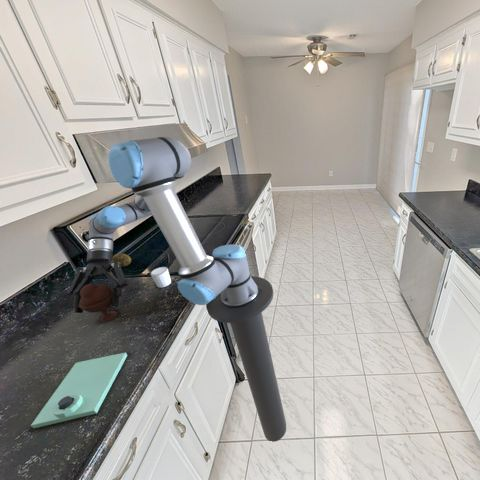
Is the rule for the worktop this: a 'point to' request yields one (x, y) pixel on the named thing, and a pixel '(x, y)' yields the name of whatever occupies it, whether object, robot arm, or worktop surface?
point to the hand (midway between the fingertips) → (97, 309)
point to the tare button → (65, 402)
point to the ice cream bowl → (97, 300)
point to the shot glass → (161, 276)
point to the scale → (82, 390)
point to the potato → (122, 259)
